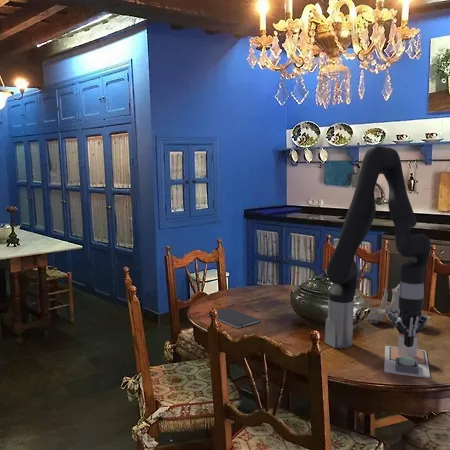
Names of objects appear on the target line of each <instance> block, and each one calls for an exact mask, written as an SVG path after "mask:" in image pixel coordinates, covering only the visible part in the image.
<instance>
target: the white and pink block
mask: <svg viewBox="0 0 450 450" xmlns="http://www.w3.org/2000/svg"><path fill="white" fill-rule="evenodd" d="M418 336H419V333H416V334H415V336H414V343H413V346H412V347H407V346H405V344H404V335H403V334H400V333H399V332H398V344H397V347H398V355H400V356H409V357H412V358H413V357H416V356H417V349H418V338H419V337H418Z"/></svg>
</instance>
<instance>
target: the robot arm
mask: <svg viewBox="0 0 450 450" xmlns="http://www.w3.org/2000/svg"><path fill="white" fill-rule="evenodd" d="M401 162H402V160H401V157H400V155H399V153H398V151H397V150H396V149H394V148H391V147H388V146H387V147H386V146H382V145H373V146H370V147H369V148H368V149H367V150H366V152H365V154H364V156H363V159H362V163H361V167H360V171H359V175H358V180H357V183H356V187H355V190H354V194H353V197H352V199H351V203H350V205H349V207H348V209H347V213H346V215H345V218H344V221H343V222H344V223H343V225H342V228H341V231H340V234H339V238H338V241H337V243H336V247H335V249H334V251H333V252H332V255H331V257H330V259H329V261H328V263H327V267H326V275H327V279H328V280H329V281H330V282H331V283H332V284H331V287H330V289H329V291H328V302H327V303H328V305H327V306H328V307H327V317H326V318H325V326H324V329H325V330H324V343H325V344H327V345H328V346H330V347H331V348H334V349H346V348H350V347H351V346H353V334H354V333H353V331H354V327H353V326H354V307H355V295H356V291H357V284H358V264H357V262H356V260H354V259H355V255H356V254H357V250H358V248H359V247H360V246H361V244H362V243H363V241H364V240H365V238H366V237H367V235H368V233H369V231H370V229H371V226H372V224H373V221H374V219H375V216H376V213H377V209H376V208H377V206H376V205H377V204H376V198H375V188H376V184H377V181H378V179H379V176H380V175H383V177H384V178H385V180H386V182H387V187H388V200H387V202H388V203H387V204H388V206H387V207H388V210H389V211H388V212H389V214H390V217H391V220H392V222H393V225H394V236H395V237H394V238H395V240H394V241H395V247H396V248H395V249H396V250H397V252H398V253H399V255H401V256H402V257H404V258H409V257H410V259H409V261H407V262H404V263H403V264H401V265H400V279H399V280H400V282H399V284H400V286H399V305H398V307H399V309H400V313H399V318H398V319H397V320H394V321H393V323H392V324H393V326H394V327H395V328H396V330H397V331H398V334H399V333H400V334H403V335H404V344H405V346H407V347H412V346H413V343H414V336H415V334H416V333H418V334H419V333H420V332H421V331H422V329H423V328H424V327H423V325H424V323H425V321H426V320H427V318H426V317H424V316H422V313H423V312H422V311H423V310H424V295H425V293H424V292H425V289H424V288H425V287H424V285H425V284H424V278H425V277H424V276H425V275H424V274H425V269H426V266H427V262H428V260H429V257H430V253H431V250H432V247H431V246H432V244H431V240H430V238H429V237H428V236H427V235H426V234H424V233H412V234H411V232H410V230H411V229H413V228H414V227H416V225H417V217H416V215H415V213H414V209H413V207H412V205H411V202H410V198H409V196H408V192H407V188H406V182H405V177H404V173H403V167H402V163H401ZM417 326H418V328H417ZM421 328H422V329H421Z"/></svg>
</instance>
